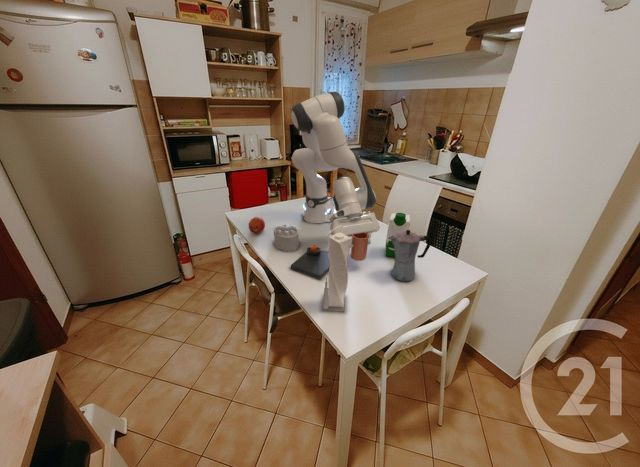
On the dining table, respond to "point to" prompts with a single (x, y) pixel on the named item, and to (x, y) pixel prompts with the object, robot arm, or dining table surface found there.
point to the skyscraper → (337, 272)
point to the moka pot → (407, 254)
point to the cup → (359, 246)
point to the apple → (256, 225)
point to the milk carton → (396, 230)
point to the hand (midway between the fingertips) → (360, 245)
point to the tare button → (313, 248)
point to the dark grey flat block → (313, 263)
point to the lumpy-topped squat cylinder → (286, 237)
